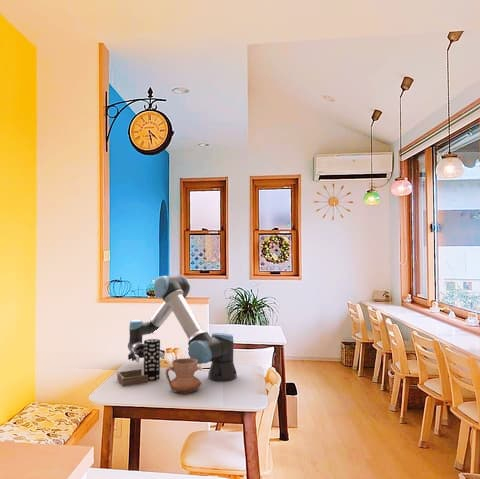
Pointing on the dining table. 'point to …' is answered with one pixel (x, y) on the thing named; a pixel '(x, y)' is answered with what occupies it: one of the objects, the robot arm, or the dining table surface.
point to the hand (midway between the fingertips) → (151, 358)
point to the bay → (131, 378)
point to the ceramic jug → (184, 375)
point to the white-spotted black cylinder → (152, 359)
